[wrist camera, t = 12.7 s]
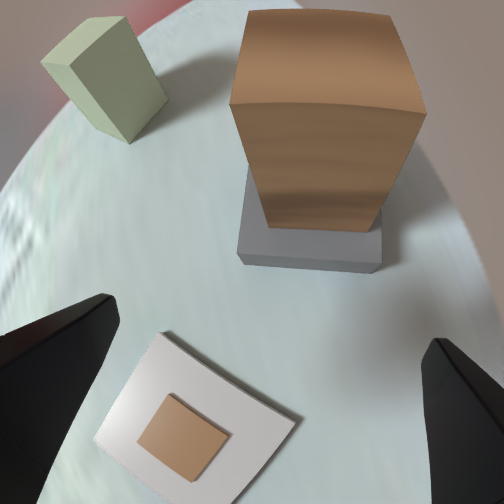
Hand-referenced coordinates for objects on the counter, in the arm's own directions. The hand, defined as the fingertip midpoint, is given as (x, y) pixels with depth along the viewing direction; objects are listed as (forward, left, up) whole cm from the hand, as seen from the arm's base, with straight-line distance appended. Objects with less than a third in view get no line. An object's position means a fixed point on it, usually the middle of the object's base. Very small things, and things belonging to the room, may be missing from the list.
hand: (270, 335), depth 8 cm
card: (+2, +9, -11) cm, 14 cm away
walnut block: (+3, -8, -8) cm, 12 cm away
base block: (+3, -8, -11) cm, 14 cm away
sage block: (+22, -9, -11) cm, 26 cm away
